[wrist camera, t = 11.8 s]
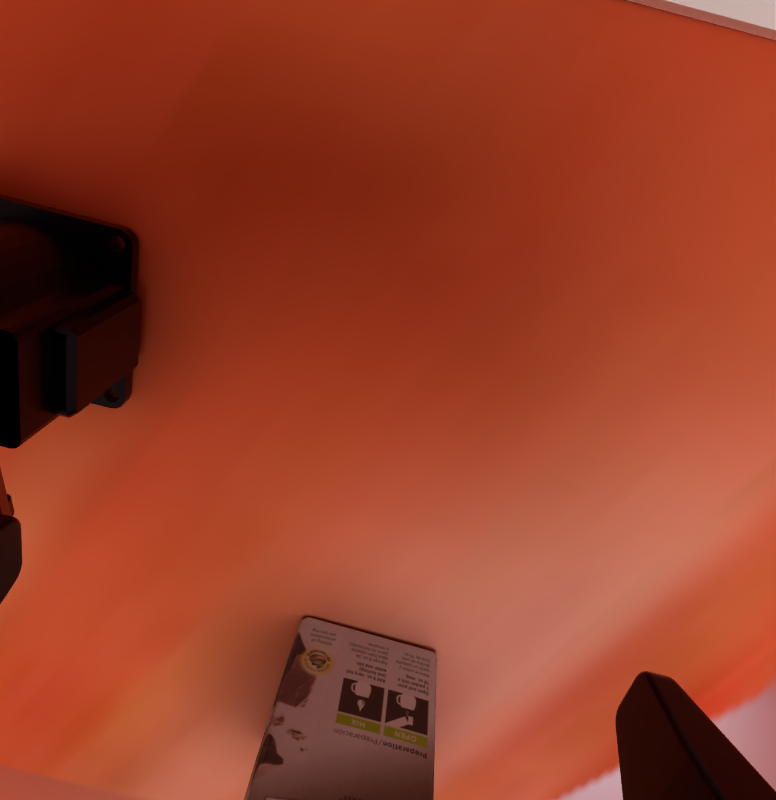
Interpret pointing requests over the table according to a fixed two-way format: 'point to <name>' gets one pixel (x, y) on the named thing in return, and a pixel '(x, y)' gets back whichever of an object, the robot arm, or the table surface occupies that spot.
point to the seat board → (725, 13)
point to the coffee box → (349, 720)
